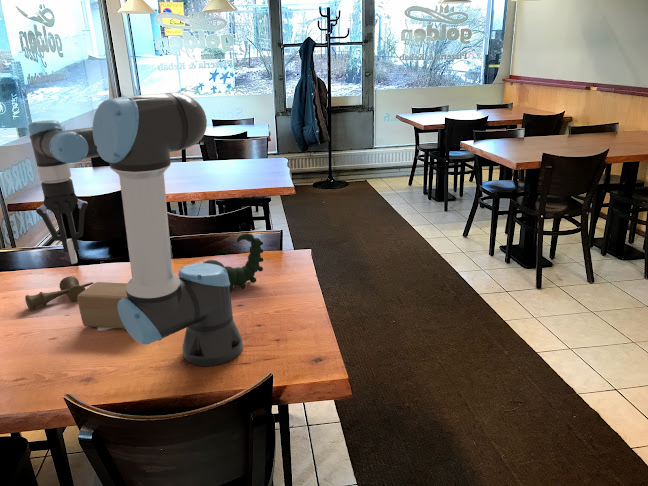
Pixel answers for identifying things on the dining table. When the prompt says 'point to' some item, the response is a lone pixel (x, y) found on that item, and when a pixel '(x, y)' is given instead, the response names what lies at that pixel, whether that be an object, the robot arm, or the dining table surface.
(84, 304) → the wooden block
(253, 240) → the toy figurine
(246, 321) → the dining table surface
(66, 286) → the kendama
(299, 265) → the dining table surface
